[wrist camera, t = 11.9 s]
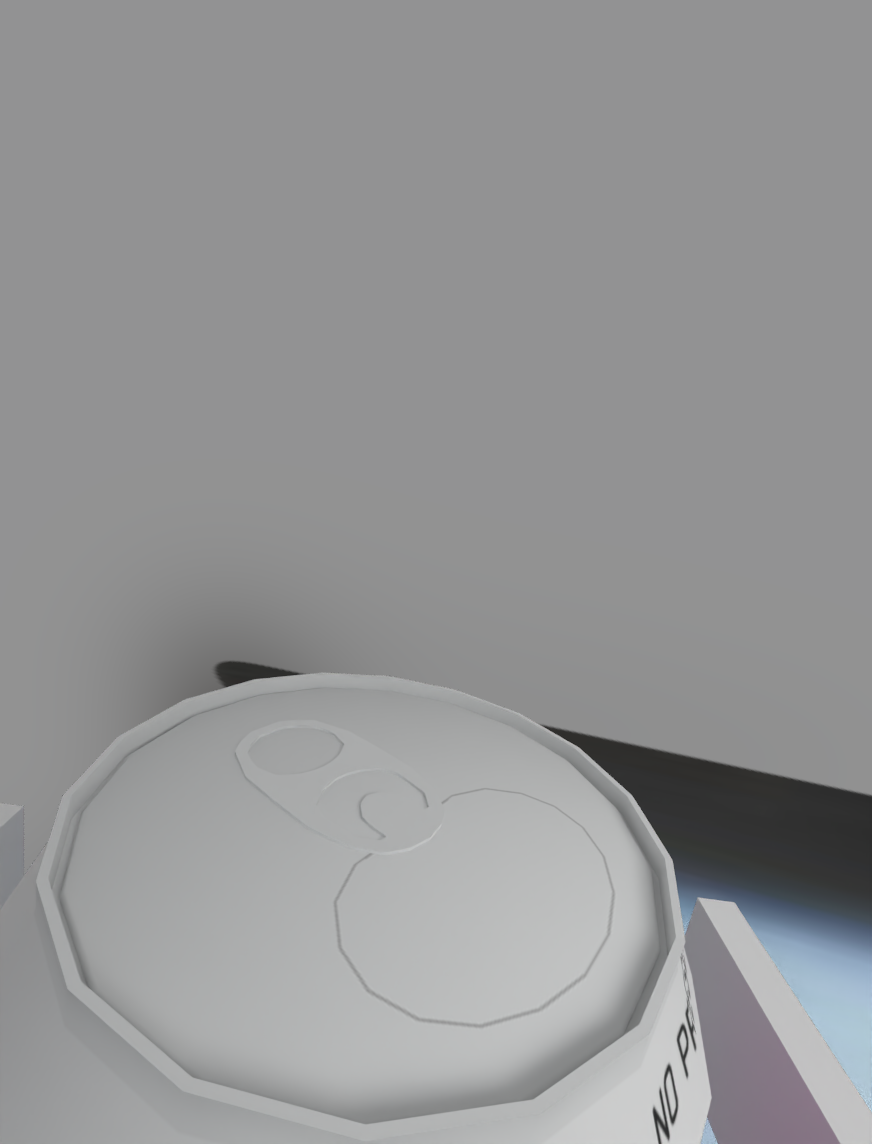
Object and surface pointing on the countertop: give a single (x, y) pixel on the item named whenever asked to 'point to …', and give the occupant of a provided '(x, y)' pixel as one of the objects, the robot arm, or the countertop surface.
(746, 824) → the countertop surface
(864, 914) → the countertop surface
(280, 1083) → the sparkling water can
